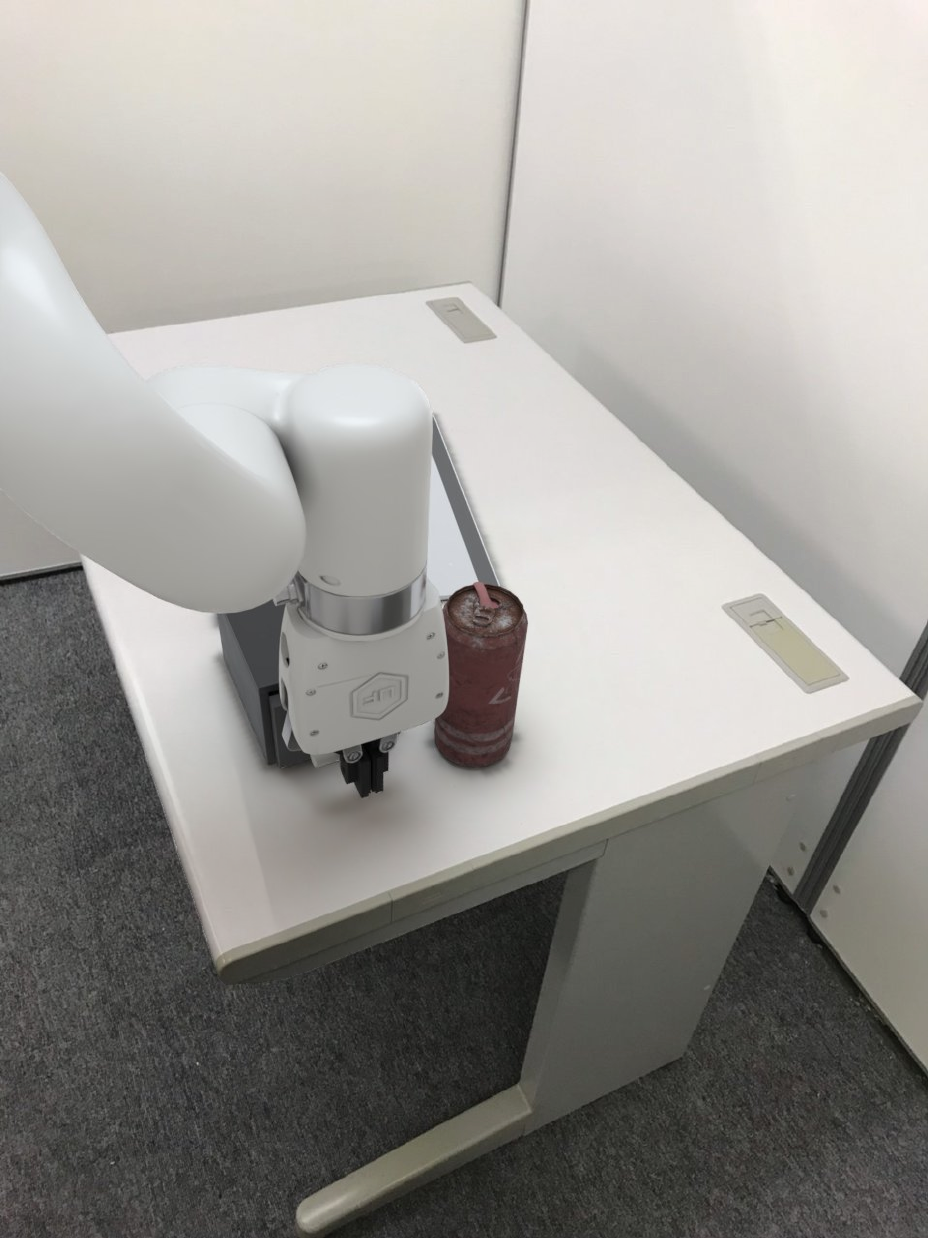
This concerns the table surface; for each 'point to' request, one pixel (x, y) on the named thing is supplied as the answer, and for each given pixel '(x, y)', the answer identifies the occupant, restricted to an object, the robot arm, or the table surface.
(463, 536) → the white grey flat panel
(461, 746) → the can
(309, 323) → the table surface
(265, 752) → the dark grey cabinet
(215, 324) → the table surface
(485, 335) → the table surface
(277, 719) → the drawer
